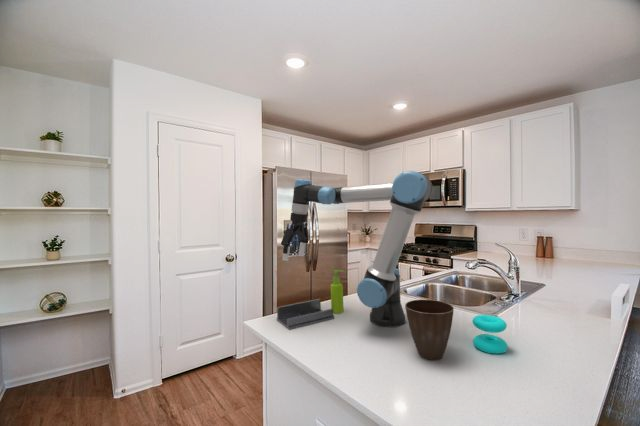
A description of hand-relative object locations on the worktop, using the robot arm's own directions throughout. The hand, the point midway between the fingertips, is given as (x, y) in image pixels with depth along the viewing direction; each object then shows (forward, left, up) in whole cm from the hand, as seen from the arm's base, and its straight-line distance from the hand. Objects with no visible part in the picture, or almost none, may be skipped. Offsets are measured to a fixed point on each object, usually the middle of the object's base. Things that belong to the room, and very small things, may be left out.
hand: (293, 258), depth 137 cm
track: (-5, -2, -27) cm, 28 cm away
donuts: (-66, -41, -28) cm, 83 cm away
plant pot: (-58, -21, -28) cm, 68 cm away
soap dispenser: (-5, -20, -28) cm, 35 cm away
